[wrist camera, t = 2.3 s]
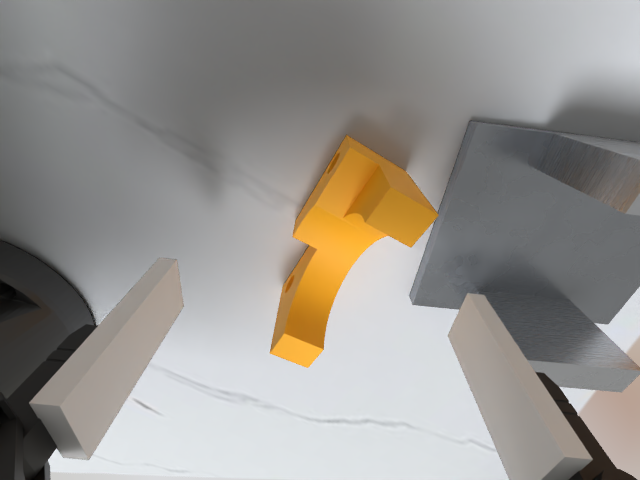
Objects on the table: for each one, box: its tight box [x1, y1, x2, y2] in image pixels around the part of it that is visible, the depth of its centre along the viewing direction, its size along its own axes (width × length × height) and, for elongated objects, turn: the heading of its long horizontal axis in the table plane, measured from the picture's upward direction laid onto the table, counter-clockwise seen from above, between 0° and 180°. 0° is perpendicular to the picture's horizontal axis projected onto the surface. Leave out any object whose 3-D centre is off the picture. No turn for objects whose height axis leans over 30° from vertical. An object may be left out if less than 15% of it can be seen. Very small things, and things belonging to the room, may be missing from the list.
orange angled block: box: [270, 135, 439, 368], centre depth 18 cm, size 12×4×6 cm, turn 150°
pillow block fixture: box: [410, 121, 640, 392], centre depth 18 cm, size 16×13×7 cm
